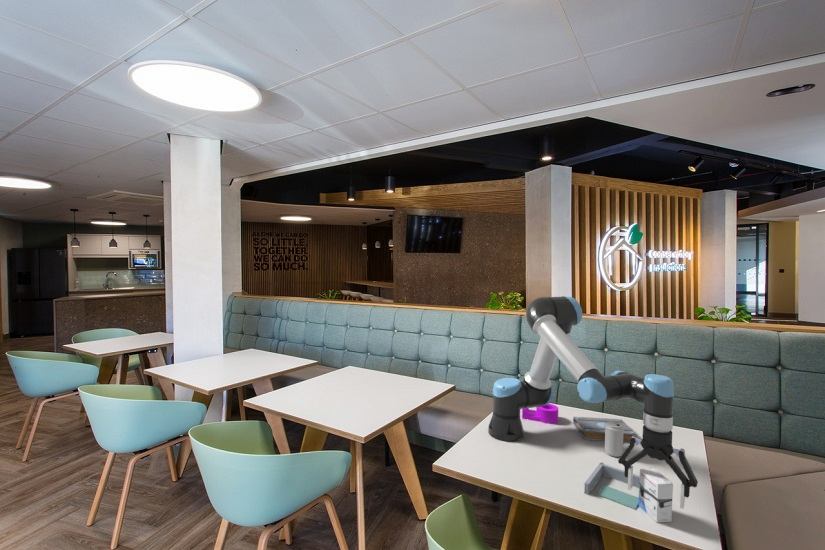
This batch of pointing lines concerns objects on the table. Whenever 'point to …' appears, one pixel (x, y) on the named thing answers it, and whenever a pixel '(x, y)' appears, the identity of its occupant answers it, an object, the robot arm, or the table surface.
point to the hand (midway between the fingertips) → (655, 496)
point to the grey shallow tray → (599, 428)
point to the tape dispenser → (542, 414)
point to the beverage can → (614, 439)
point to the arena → (608, 472)
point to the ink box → (655, 495)
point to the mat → (619, 496)
